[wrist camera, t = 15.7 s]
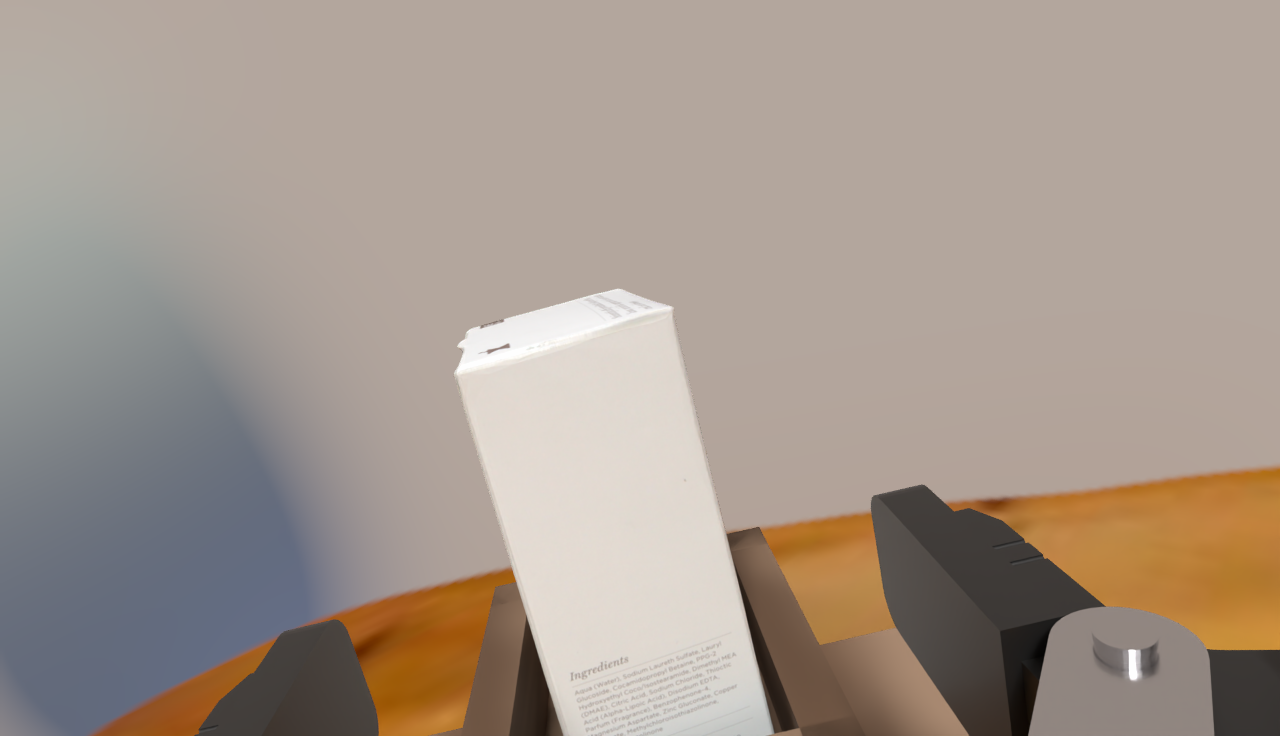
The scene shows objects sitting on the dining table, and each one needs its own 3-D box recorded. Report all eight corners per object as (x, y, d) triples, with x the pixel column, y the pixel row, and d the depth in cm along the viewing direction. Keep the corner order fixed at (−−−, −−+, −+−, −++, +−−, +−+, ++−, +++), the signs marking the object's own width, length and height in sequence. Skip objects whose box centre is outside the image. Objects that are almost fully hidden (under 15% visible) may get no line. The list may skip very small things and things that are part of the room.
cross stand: (899, 536, 38) (885, 443, 37) (1402, 1094, 14) (1409, 885, 13) (384, 654, 37) (354, 563, 36) (48, 1424, 14) (-68, 1240, 13)
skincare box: (794, 806, 22) (695, 303, 18) (591, 879, 21) (446, 365, 17) (710, 646, 30) (630, 276, 26) (561, 694, 29) (457, 317, 26)
